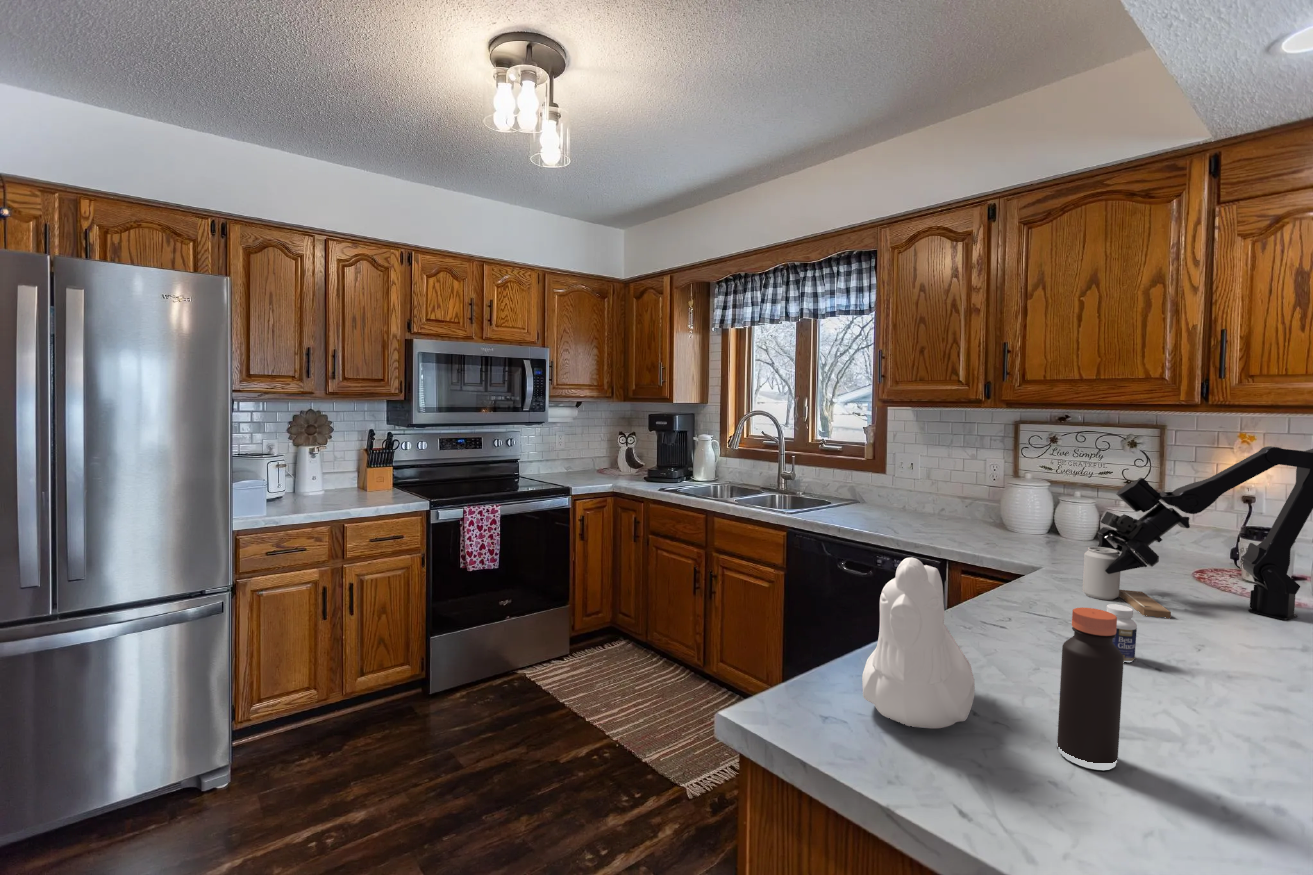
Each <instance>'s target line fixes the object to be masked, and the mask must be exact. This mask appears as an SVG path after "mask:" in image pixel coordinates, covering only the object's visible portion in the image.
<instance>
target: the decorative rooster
mask: <svg viewBox="0 0 1313 875" xmlns="http://www.w3.org/2000/svg"><path fill="white" fill-rule="evenodd" d="M945 619H946V618H945V606H944V587H943V581H942V577H941V574H940V571H939V569H938V568H936V567H933V566H931V565H927V564H925V565H924V564H923V562H922V561H921V560H919V559H918V558H916V557H906V558H904V559H903V560H902V561H900V563H899V564H898V566H897V568H896V571H895V577H894V578H892V579H891V580H889V581H888V582H887V583H885V585H884V586H883V588H882V590H881V594H880V597H879V630H878V631H879V632H878V639H877V644H876V647H875V649H874V650H873V651H872V653H871V654H870V655H869V656H868V658H867V660H866V662H865V665H864V669H863V672H862V676H861V677H862V681H861V682H862V697H863V698H864V699H865V701H868V702H869V703H871V704H873V705H874V708H876V711H877V712H878V713H879V714H880V715H882V716H883V717H885V718H886V719H889V718H890V720H892V721H894V722H898V723H899V722H900V723H899V724H902V725H904V724H905V725H904V726H908V727H910V726H912V728H913V727H914V728H923V729H941V728H943V729H944V728H947V727H951V726H953V725H954V724H956V723H959V722H964V721H966V720H967V719H968V717H969V714H970V712H971V709H972V707H973V703H974V699H975V694H976V689H975V688H976V687H975V677H974V674H973V669H972V665H971V663H970V661H969V660H968V659H967V657H966V655H965V653H964V652H963V651H962V649H961V647H960V645H959V644H958V643H957V641H956V640H955V637H953V635H952V633H951V632H950V630H949V629H948V627H947V625H946V624H945Z"/></svg>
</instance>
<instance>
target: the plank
mask: <svg viewBox="0 0 1313 875" xmlns="http://www.w3.org/2000/svg"><path fill="white" fill-rule="evenodd" d="M1118 598H1121V599H1122V600H1123V601H1125V602H1126V603H1127V604H1128V605H1129V604H1130V605H1129V606H1131V608H1132V609H1133V610H1136V611H1137V612H1138V611H1139V612H1140V613H1139V614H1140V615H1142V616H1143V615H1145V616H1144V617H1149V616H1155V617H1154V618H1159V617H1166V618H1165V619H1169V618H1170V619H1171V617H1172V616H1171V613H1172V612H1171V611H1170V610H1168V609H1167V608H1166V607H1164V606H1163V605H1162V604H1160V603H1159V602H1157V601H1156V600H1154V599H1153V598H1152V597H1150V595H1147V594H1146V593H1145V592H1143V591H1138V590H1129V589H1127V590H1126V589H1119V596H1118ZM1146 615H1147V616H1146Z"/></svg>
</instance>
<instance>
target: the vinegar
mask: <svg viewBox="0 0 1313 875" xmlns="http://www.w3.org/2000/svg"><path fill="white" fill-rule="evenodd" d="M1071 614H1072V616H1071V626H1072V627H1071V629H1072V631H1073V636H1071V637H1070V638H1068V639H1067V640H1066V641H1064V642H1063V643H1062V646H1061V648H1062V649H1061V664H1060V665H1061V668H1060V681H1059V682H1060V684H1059V686H1060V687H1059V702H1058V704H1059V705H1058V719H1057V720H1058V722H1057V738H1056V739H1057V741H1056V742H1057V743H1058V747H1060V749H1062V751H1064V752H1065V753H1067V754H1069V755H1071V756H1074V757H1075V758H1078V759H1081V760H1085V761H1087V762H1093V763H1113V762H1115V761H1116V760H1117V758H1118V759H1119V747H1120V746H1119V744H1120V728H1121V713H1122V712H1121V710H1122V696H1123V693H1122V692H1123V678H1124V663H1123V662H1124V657H1123V655H1122V653H1121V652H1120V650H1119V649H1118V648H1117V647H1116V646H1115V645H1114V644H1113V638H1115V636H1116V635H1115V634H1116V629H1117V617H1116V616H1115V615H1114V614H1112V613H1109V612H1107V610H1102V609H1098V608H1092V607H1075V608H1072V613H1071ZM1057 743H1056V744H1057Z"/></svg>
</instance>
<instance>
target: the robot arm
mask: <svg viewBox="0 0 1313 875" xmlns="http://www.w3.org/2000/svg"><path fill="white" fill-rule="evenodd" d="M1278 465H1281V466H1289V467H1295V468H1296V470H1295V484H1294V486H1293V488H1292V490H1291V491H1290V493H1289V495H1288V497H1287V498H1286V501H1285V502H1284V505H1282V508H1281V509H1280V512H1279V513H1278V515H1277V517H1276V519H1275V521H1274V523H1273V524H1272V526H1271V528H1270V530H1269V532H1268V533H1267V535H1266V537H1265V538H1264V539H1263V540H1262V541H1261V542H1259V543H1258V544H1255V543H1253V542H1249V544H1248V547H1247V550H1246V552H1245V553H1244V554H1243V555H1242V556H1241V557H1240V558H1241V559H1243V562H1242V567H1243V569H1244V570H1245V573H1246V572H1247V573H1248V574H1249V575H1250V576H1251V577H1252V580H1253V581H1254V583H1256V584H1253V589H1252V590H1251V591H1250V596H1249V597H1250V598H1249V608H1248V610H1247V611H1248V612H1249V613H1254V614H1257V615H1262V616H1265V617H1270V618H1273V619H1277V620H1280V621H1281V620H1282V621H1287V620H1291V619H1295V618H1298V616H1299V615H1298V614H1297V613H1295V607H1296V594H1297V593H1298V591H1299V590H1300V588H1301V585H1300V584H1299V583H1298V582H1296V581H1295V580H1294V579H1293V578H1292V577H1291V576H1289V575H1288V571H1289V569H1290V568H1289V567H1290V564H1291V550H1292V547H1293V545H1294V544H1295V542H1296V540H1297V538H1298V536H1299V534H1300V532H1301V531H1302V529H1303V527H1304V526H1305V524H1306V522H1307V520H1308V518H1309V516H1310V515H1311V513H1312V512H1313V448H1310V449H1307V450H1297V449H1289V448H1281V447H1279V446H1278V447H1277V446H1272V445H1268V446H1264V447H1261V449H1259V450H1258V451H1256V452H1255V453H1253V454H1251V455H1249V456H1247V457H1245V458H1244V459H1242V460H1240V461H1238V462H1236V463H1235V464H1233V465H1230V466H1229V467H1227V468H1225V469H1223V470H1221V471H1220V472H1218V473H1216V474H1214V475H1213V476H1211V477H1208V478H1206V479H1203V480H1199V481H1198V480H1197V481H1195V482H1191V483H1189V484H1187V485H1183V486H1180V487H1178V488H1175V489H1174V490H1173V491H1161V492H1159V491H1158V490H1156V489H1155V488H1154V487H1153V486H1152V485H1151V484H1149V482H1148V481H1147V480H1146V479H1145V478H1144V477H1138V479H1135V480H1134V481H1131V482H1130V483H1128V484H1125V485H1124V486H1123V487H1121V488H1120V489H1119V490H1118V491H1117V492H1116V496H1117V497H1119V498H1120V499H1121V500H1122V501H1123V502H1124V503H1125V504H1127V505H1128V506H1129V507H1130V508H1131V509H1132V510H1133V511H1134V512H1142V513H1145V514H1144V515H1143V516H1142V517H1140V518H1139V519H1137V518H1134V517H1132V516H1130V515H1127V514H1122V515H1118V514H1115V513H1112V512H1110V511H1106V512H1105V514H1103V517H1102V519H1101V520H1100V523H1101V524H1103V525H1106V526H1103V527H1101V528H1100V529H1098V531H1097V537H1098V544H1097V546H1096V547H1105V548H1110V549H1114V550H1117V551H1118V555H1119V557H1118V558H1117V559H1116V560H1115V561H1114V562H1113V563H1112V564H1110V565H1109V567H1108V568H1107V569H1106V570H1105V572H1106V573H1108V574H1112V573H1116V572H1120V573H1121V572H1125V571H1129V570H1134V569H1139V568H1140V569H1141V568H1147V567H1148V566H1149V567H1151V568H1152V567H1154V566H1155V565H1157V564H1158V563H1159V561H1160V560H1159V559H1160V556H1159V555H1158V554H1157V553H1156V552H1155V551H1154V550H1153V549H1152V548H1151V547H1150V546H1151V545H1152V544H1153V543H1154V542H1157V543H1160V542H1162V541H1163V538H1162V537H1163V536H1164V535H1165V534H1166V533H1168V532H1169V531H1170V530H1172V529H1173V528H1174V527H1176V526H1179V527H1180V528H1183V529H1190V528H1191V527H1190V526H1191V525H1190V516H1182V515H1181V514H1180V513H1179V512H1178V511H1177V510H1180V511H1181V512H1182V513H1183V512H1184V513H1185V514H1189V515H1190V514H1191V515H1196V514H1199V513H1202V512H1203V511H1205V510H1206V509H1207V508H1208V507H1211V505H1212V504H1214V503H1216V501H1217V500H1218V499H1219V498H1220V497H1221V496H1222V495H1223V494H1225V493H1226V492H1227V491H1229V490H1232V489H1234V488H1236V487H1237V486H1239V485H1241V484H1243V483H1245V482H1247V481H1249V480H1252V479H1253V478H1255V477H1257V476H1259V475H1261V474H1263V473H1264V472H1266V471H1268V470H1270V469H1272V468H1274V467H1276V466H1278ZM1163 503H1164V504H1166V505H1169V506H1171V507H1167V506H1165V505H1164V504H1163ZM1173 507H1175V508H1176V509H1177V510H1176V509H1175V508H1173Z"/></svg>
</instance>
